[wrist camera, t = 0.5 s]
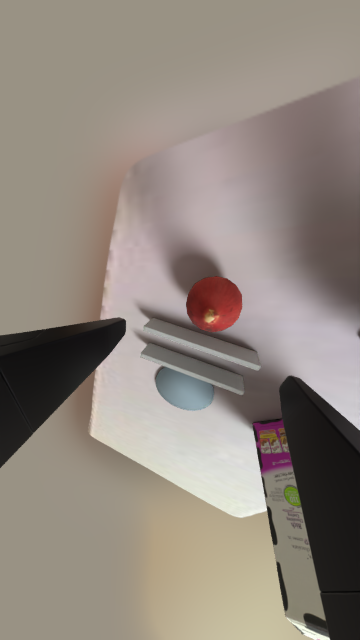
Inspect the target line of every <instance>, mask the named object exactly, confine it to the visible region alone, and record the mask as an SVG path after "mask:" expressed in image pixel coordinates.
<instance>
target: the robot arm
mask: <svg viewBox="0 0 360 640" xmlns="http://www.w3.org/2000/svg"><path fill="white" fill-rule="evenodd" d="M125 332H126V320H125V319H122V318H112V319H106V320H99V321H93V322H87V323H80V324H74V325H68V326H62V327H56V328H49V329H42V330H36V331H30V332H23V333H16V334H9V335H0V468H1V467H2V466H3V465H4V464H5V462H7V461H8V459H9V458H10V457H11V456H12V455H13V454H14V453H15V452H16V451H17V450H18V449H19V448H20V447H21V446H22V445H23V444H24V443H25V442H26V441H27V440H28V439H29V437H31V435H32V434H33V433H34V432H35V431H36V430H37V429H38V428H39V427H40V426H41V425H42V424H43V423H44V422H45V421H46V420H47V419H48V418H49V417H50V415H52V413H53V412H54V411H55V410H56V409H57V408H58V407H59V406H60V405H61V404H62V403H63V402H64V401H65V400H66V399H67V398H68V397H69V396H70V395H71V394H72V393H73V392H74V391H75V390H76V389H77V388H78V386H79V385H80V384H81V383H82V382H83V381H84V380H85V379H86V378H87V377H88V376H89V375H90V374H91V373H92V372H93V371H94V370H95V369H96V368H97V367H98V366H99V365H100V364H101V363H102V362H103V360H104V359H105V358H106V357H107V356H108V355H109V354H110V353H111V352H112V350H113V349H114V348H115V346H116V345H117V344H118V343H119V341H120V340H121V339H122V338H123V336H124V335H125ZM279 392H280V401H281V410H282V419H283V425H284V430H285V435H286V439H287V444H288V448H289V453H290V458H291V462H292V467H293V471H294V476H295V481H296V485H297V490H298V494H299V499H300V504H301V508H302V513H303V517H304V522H305V527H306V531H307V536H308V540H309V545H310V550H311V554H312V559H313V563H314V568H315V573H316V577H317V582H318V586H319V590H320V597H321V601H322V606H323V610H324V615H325V620H326V624H327V629H328V633H329V638H330V640H360V430H359V429H357V428H356V427H355V426H354V425H353V424H352V423H350V422H349V421H348V420H347V419H346V418H345V417H344V416H342V415H341V414H340V413H339V412H338V411H337V410H336V409H334V408H333V407H332V406H331V405H330V404H329V403H328V402H326V401H325V400H324V399H323V398H322V397H321V396H319V395H318V394H317V393H316V392H315V391H314V390H313V389H311V388H310V387H309V386H308V385H307V384H306V383H305V382H303V381H302V380H301V379H300V378H297V377H294V376H288V377H287V378H286V380H285V381H284V382H283V383H282V385H281V386H280V390H279Z"/></svg>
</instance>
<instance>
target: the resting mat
mask: <svg viewBox="0 0 360 640" xmlns="http://www.w3.org/2000/svg"><path fill="white" fill-rule="evenodd" d="M156 387H157V390H158V392H159V393H160V395H161V396H162V397H163V398H164V399H165V400H166V401H167V402H169V403H170V404H172V405H174V406H176V407H178V408H181V409H184V410H193V411H195V410H201V409H204V408H206V407H207V406H209V405H210V404H211V402H212V400H213V397H214V389H213V386H212V384H210V383H207V382H205V381H202V380H200V379H197V378H194V377H192V376H189V375H186V374H184V373H181V372H178V371H176V370H173V369H170V368H168V367H164V368H163V369H162V370H160V372H159V373H158V375H157V377H156Z"/></svg>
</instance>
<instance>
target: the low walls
mask: <svg viewBox="0 0 360 640" xmlns="http://www.w3.org/2000/svg"><path fill="white" fill-rule="evenodd" d="M143 331H145V332H148V333H150V334H153V335H156V336H159V337H162V338H165V339H168V340H171V341H173V342H176V343H179V344H182V345H185V346H188V347H191V348H194V349H196V350H199V351H202V352H205V353H208V354H211V355H214V356H217V357H219V358H222V359H225V360H228V361H231V362H234V363H237V364H240V365H242V366H245V367H248V368H251V369H254V370H257V371H259V369H260V368H261V364H260V361H259V358H258V354H257V352H255V351H252V350H249V349H246V348H243V347H240V346H237V345H234V344H231V343H228V342H225V341H222V340H219V339H216V338H213V337H210V336H207V335H204V334H201V333H198V332H195V331H192V330H189V329H186V328H183V327H180V326H177V325H174V324H171V323H168V322H165V321H162V320H159V319H155V318H152V319H151V320H150V321H149V322H148V323H147V324H146V325H145V326H144V329H143ZM140 357H141V358H144V359H146V360H149V361H152V362H154V363H157V364H160V365H162V366H165V367H168V368H170V369H173V370H176V371H178V372H181V373H184V374H186V375H189V376H192V377H194V378H197V379H200V380H202V381H205V382H207V383H210V384H213V385H215V386H218V387H221V388H223V389H226V390H229V391H231V392H234V393H237V394H239V395H243V394H244V392H245V391H244V384H243V376H241V375H238V374H235V373H232V372H230V371H227V370H224V369H221V368H218V367H216V366H213V365H210V364H207V363H204V362H202V361H199V360H196V359H193V358H190V357H188V356H185V355H182V354H179V353H177V352H174V351H171V350H168V349H165V348H163V347H160V346H157V345H154V344H151V343H149V344H148V345H147V346H146V348H145V349H144V350H143V351H142V352H141V356H140Z"/></svg>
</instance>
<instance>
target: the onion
mask: <svg viewBox="0 0 360 640" xmlns="http://www.w3.org/2000/svg"><path fill="white" fill-rule="evenodd" d="M186 307H187V314H188V316H189V318H190V319H191V321H192V323H193V324H194V325H196V326H197V327H198V328H200V329H201V330H205V331H208V332H217V331H222V330H224V329H226V328H228V327H230V326H232V325H233V324H234V323H235V322H236V320H237V319H238V318H239V315H240V312H241V310H242V294H241V293H240V291H239V289H238V287H237V286H236V285H235V284H234V283H232V282H231V281H230V280H228V279H227V278H222V277H218V276H215V277H208V278H204V279H202V280H200V281H199V282H197V283H195V284H194V286H193V287H192V289H191V290H190V292H189V294H188V297H187V302H186Z"/></svg>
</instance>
